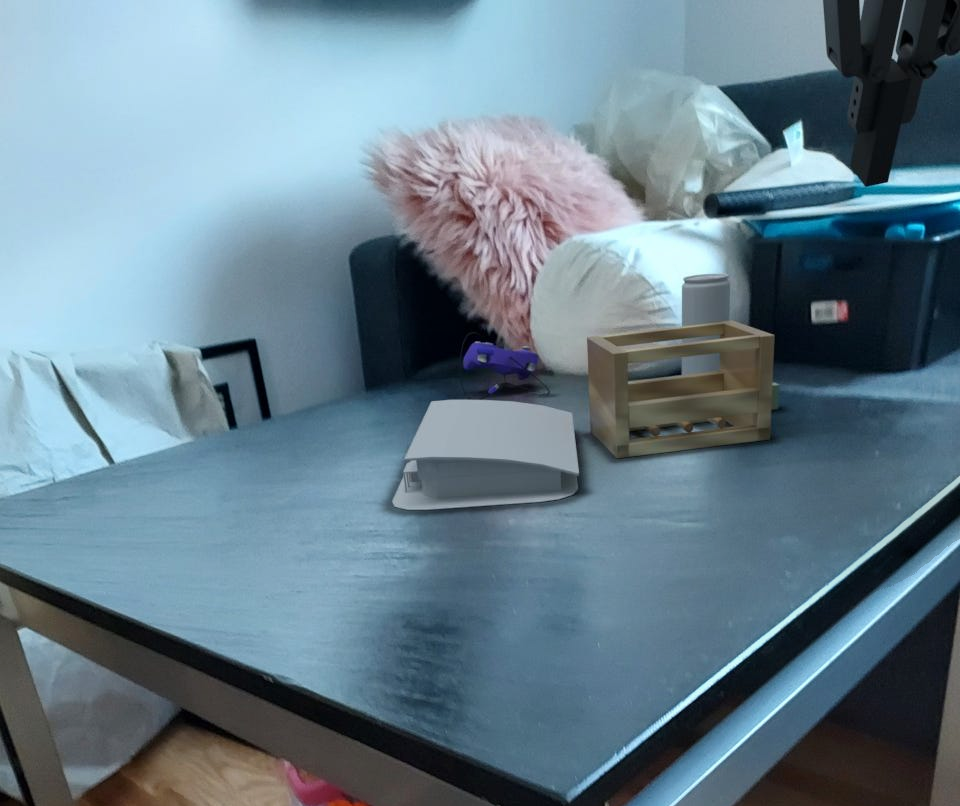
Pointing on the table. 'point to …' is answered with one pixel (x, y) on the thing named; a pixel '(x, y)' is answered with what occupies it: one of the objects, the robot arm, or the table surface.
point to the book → (489, 456)
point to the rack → (681, 389)
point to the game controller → (500, 362)
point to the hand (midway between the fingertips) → (868, 173)
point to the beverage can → (704, 314)
